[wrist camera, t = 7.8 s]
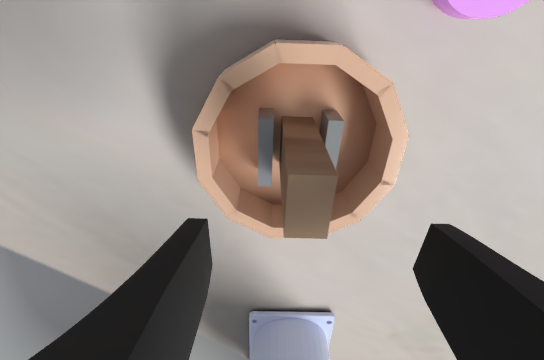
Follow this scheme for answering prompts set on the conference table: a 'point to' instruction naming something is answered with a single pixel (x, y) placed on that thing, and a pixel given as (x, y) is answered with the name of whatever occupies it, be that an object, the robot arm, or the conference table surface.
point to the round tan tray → (298, 103)
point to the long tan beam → (305, 179)
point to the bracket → (478, 8)
